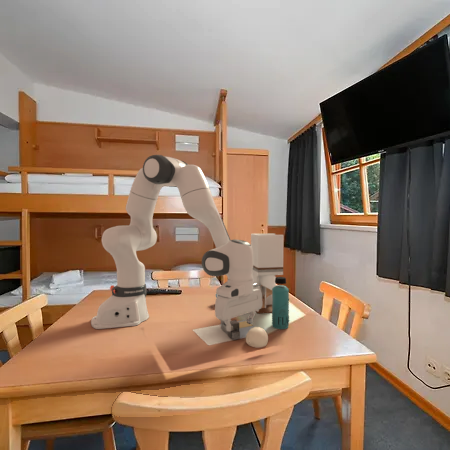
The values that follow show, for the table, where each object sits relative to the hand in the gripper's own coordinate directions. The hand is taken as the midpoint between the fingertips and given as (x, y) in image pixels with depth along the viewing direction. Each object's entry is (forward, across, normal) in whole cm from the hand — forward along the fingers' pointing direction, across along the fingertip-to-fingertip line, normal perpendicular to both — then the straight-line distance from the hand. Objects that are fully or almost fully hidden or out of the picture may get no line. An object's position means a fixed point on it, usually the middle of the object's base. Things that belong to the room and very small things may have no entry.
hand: (240, 326), depth 100 cm
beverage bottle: (+5, -18, +4) cm, 19 cm away
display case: (+5, -30, -13) cm, 33 cm away
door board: (+5, 0, -6) cm, 7 cm away
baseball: (+5, 0, +8) cm, 9 cm away
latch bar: (+3, +2, -3) cm, 4 cm away
